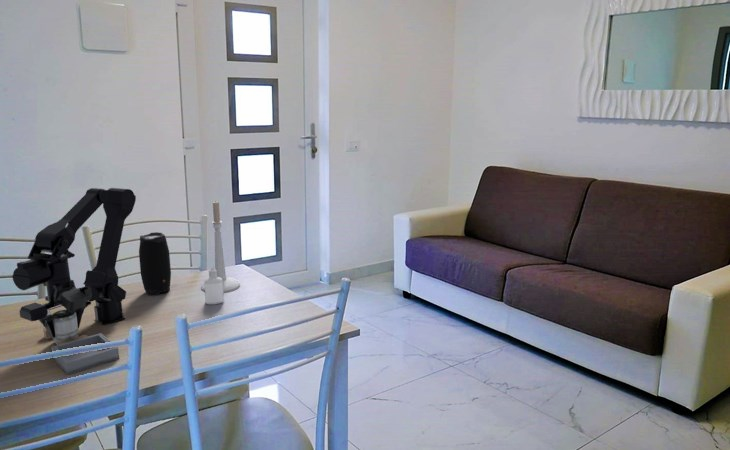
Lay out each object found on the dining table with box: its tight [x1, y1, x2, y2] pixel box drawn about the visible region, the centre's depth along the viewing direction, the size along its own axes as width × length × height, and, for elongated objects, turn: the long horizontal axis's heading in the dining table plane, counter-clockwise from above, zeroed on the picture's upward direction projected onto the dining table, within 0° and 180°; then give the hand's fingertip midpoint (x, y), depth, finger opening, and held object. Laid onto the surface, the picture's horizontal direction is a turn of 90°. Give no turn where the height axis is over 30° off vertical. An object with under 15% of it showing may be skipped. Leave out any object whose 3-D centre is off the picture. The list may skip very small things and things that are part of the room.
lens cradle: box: [43, 327, 88, 345], centre depth 150 cm, size 7×14×2 cm, turn 44°
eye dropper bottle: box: [203, 265, 225, 305], centre depth 176 cm, size 4×6×12 cm
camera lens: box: [51, 309, 79, 345], centre depth 149 cm, size 6×6×8 cm
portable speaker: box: [138, 231, 172, 296], centre depth 185 cm, size 9×9×20 cm
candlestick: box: [201, 200, 241, 294], centre depth 188 cm, size 13×13×30 cm
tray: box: [51, 332, 120, 376], centre depth 140 cm, size 12×12×3 cm
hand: (65, 332), depth 149 cm, fingers closed on camera lens, 6 cm apart
